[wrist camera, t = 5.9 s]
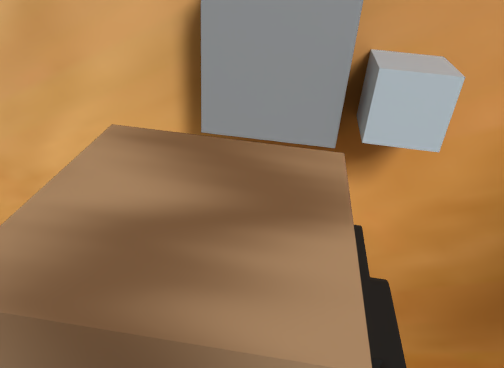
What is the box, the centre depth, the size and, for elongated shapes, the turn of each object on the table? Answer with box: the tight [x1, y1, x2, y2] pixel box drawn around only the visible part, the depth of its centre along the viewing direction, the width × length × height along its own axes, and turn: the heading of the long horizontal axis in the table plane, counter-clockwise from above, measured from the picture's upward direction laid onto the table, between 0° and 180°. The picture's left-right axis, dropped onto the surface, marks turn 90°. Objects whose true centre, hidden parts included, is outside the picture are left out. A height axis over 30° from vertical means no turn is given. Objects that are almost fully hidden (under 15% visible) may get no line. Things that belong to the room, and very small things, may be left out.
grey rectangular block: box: [201, 0, 363, 148], centre depth 29 cm, size 10×10×3 cm
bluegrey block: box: [357, 49, 465, 152], centre depth 28 cm, size 5×5×5 cm
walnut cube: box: [0, 124, 372, 368], centre depth 9 cm, size 6×6×6 cm
